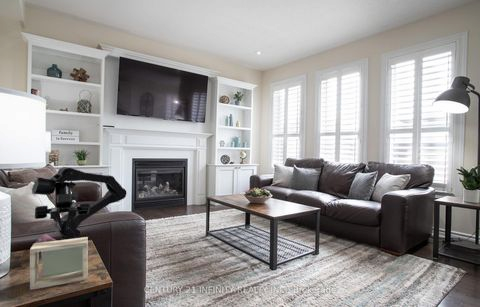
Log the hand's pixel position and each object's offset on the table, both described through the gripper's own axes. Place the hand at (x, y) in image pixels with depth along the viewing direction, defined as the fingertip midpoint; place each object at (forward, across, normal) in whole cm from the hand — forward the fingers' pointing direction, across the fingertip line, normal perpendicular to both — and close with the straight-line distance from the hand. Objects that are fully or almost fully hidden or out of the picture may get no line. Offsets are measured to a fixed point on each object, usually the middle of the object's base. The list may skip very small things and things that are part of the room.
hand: (64, 229), depth 106 cm
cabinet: (+21, -2, -6) cm, 22 cm away
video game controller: (-3, -5, +24) cm, 24 cm away
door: (+17, -1, -2) cm, 18 cm away
